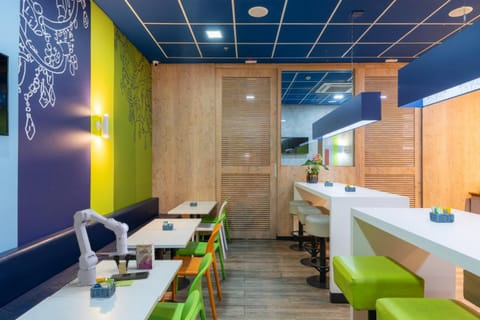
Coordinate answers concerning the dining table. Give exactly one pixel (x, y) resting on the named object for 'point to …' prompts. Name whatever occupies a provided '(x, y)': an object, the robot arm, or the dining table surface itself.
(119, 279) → the graphite rail
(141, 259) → the candy bar box
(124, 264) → the brass nut block
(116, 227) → the robot arm
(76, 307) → the dining table surface
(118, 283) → the green rubber pad
